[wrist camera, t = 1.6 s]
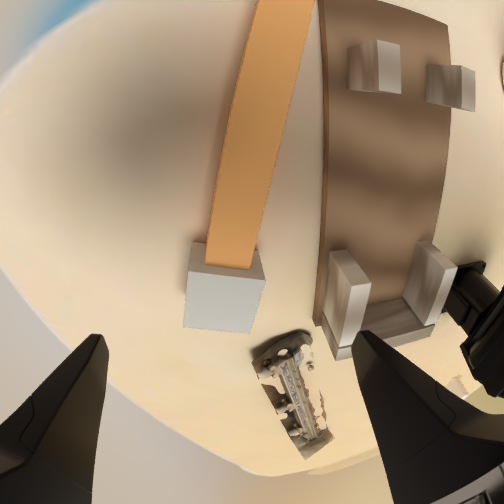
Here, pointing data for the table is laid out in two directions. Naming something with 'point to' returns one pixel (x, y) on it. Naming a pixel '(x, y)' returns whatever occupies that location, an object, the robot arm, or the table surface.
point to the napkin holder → (457, 388)
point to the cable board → (384, 171)
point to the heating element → (293, 393)
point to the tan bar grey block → (247, 172)
